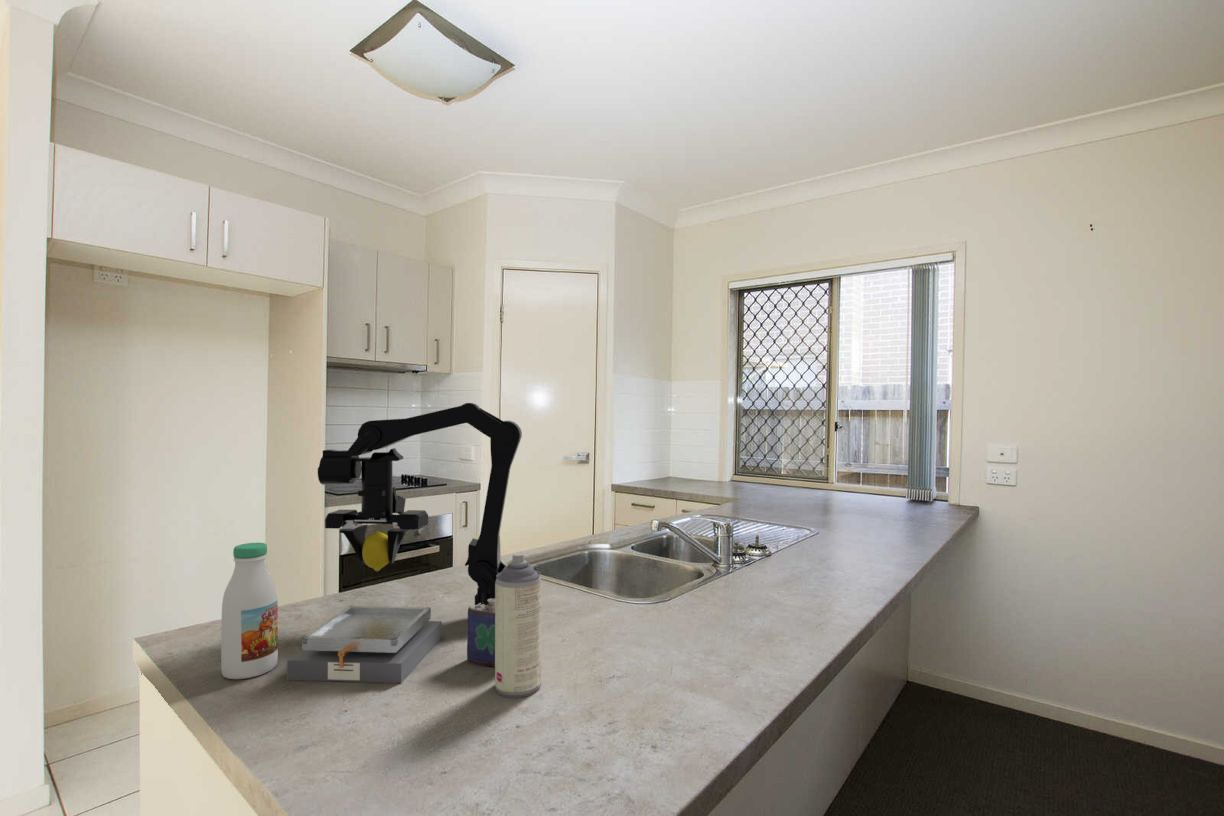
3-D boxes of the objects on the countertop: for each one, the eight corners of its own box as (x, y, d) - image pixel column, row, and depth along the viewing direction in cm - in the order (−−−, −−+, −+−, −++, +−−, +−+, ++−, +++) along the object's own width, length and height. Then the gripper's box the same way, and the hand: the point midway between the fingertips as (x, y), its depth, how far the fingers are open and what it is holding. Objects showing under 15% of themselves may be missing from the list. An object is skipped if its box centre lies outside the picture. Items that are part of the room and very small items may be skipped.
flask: (521, 663, 98) (521, 598, 98) (514, 670, 95) (514, 603, 95) (471, 656, 101) (471, 593, 101) (462, 663, 98) (462, 598, 98)
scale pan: (430, 626, 107) (430, 607, 107) (389, 669, 90) (389, 646, 90) (349, 624, 108) (349, 605, 108) (293, 666, 91) (293, 643, 91)
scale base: (441, 637, 109) (441, 621, 109) (400, 683, 91) (400, 664, 91) (345, 635, 110) (345, 619, 110) (286, 680, 92) (286, 660, 92)
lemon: (397, 567, 120) (397, 528, 120) (383, 575, 114) (383, 534, 114) (371, 567, 120) (371, 527, 120) (356, 574, 115) (356, 533, 115)
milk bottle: (218, 685, 90) (218, 552, 90) (224, 665, 97) (224, 542, 97) (276, 674, 94) (277, 547, 94) (278, 656, 100) (278, 537, 100)
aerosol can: (523, 672, 95) (524, 546, 95) (549, 687, 90) (550, 554, 90) (486, 686, 90) (486, 554, 90) (511, 702, 85) (512, 562, 85)
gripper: (438, 479, 125) (438, 553, 125) (352, 478, 126) (352, 552, 126) (416, 486, 113) (417, 568, 113) (322, 485, 115) (323, 566, 115)
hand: (377, 563), depth 117 cm, fingers closed on lemon, 5 cm apart
